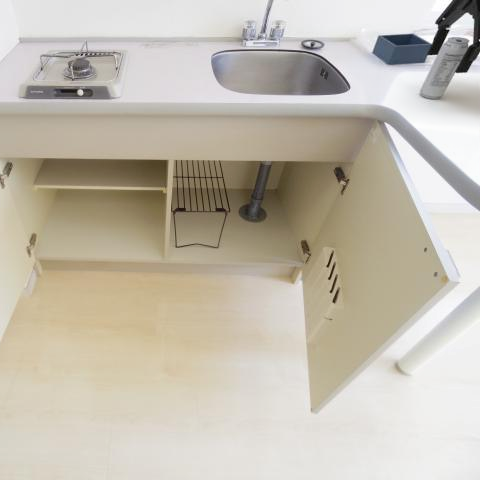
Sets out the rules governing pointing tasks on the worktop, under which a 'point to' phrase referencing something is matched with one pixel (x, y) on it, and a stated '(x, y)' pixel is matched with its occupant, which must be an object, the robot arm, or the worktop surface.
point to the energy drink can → (444, 67)
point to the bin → (401, 48)
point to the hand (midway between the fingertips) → (445, 63)
